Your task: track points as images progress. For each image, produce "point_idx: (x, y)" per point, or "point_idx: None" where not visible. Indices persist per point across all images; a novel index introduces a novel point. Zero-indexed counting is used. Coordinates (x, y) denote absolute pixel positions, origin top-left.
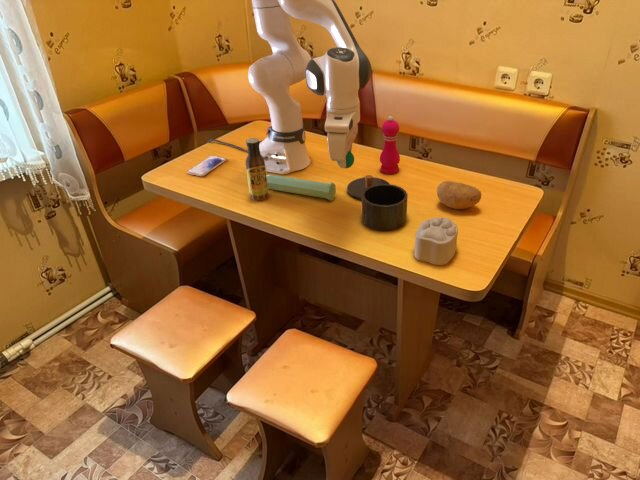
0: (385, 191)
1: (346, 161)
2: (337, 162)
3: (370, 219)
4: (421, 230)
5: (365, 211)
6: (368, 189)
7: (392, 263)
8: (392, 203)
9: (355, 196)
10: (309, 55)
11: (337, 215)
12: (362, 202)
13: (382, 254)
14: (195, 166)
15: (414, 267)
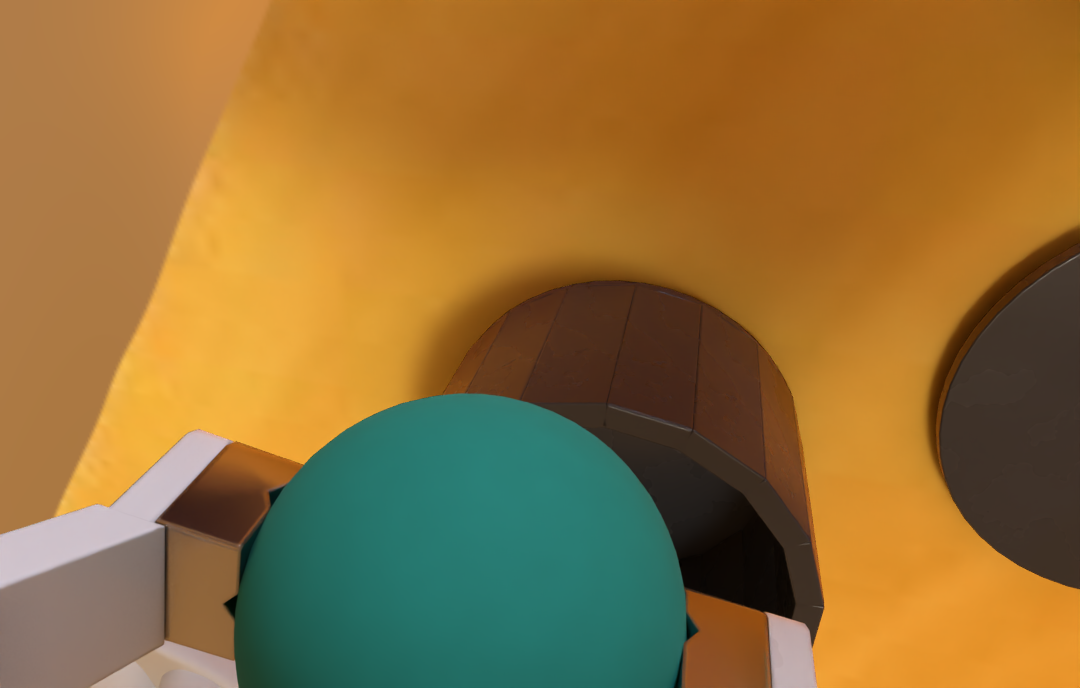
0: (781, 589)
1: (215, 634)
2: (401, 410)
3: (468, 365)
4: (147, 665)
5: (502, 359)
6: (733, 484)
7: (112, 390)
8: (747, 554)
9: (1040, 275)
10: None
11: (739, 57)
12: (557, 373)
13: (188, 352)
14: None
15: (103, 487)
